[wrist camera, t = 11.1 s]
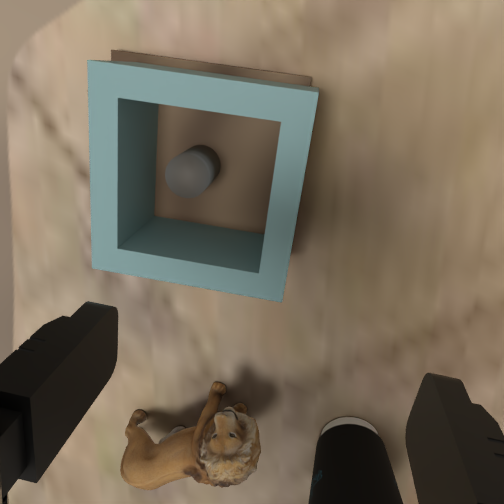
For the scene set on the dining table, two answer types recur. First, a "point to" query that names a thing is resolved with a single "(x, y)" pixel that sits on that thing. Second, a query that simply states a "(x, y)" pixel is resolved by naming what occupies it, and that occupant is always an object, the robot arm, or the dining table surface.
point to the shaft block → (214, 155)
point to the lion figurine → (194, 448)
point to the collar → (144, 178)
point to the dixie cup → (352, 466)
